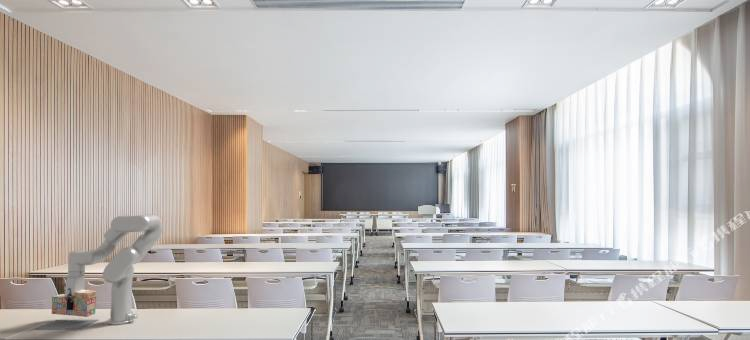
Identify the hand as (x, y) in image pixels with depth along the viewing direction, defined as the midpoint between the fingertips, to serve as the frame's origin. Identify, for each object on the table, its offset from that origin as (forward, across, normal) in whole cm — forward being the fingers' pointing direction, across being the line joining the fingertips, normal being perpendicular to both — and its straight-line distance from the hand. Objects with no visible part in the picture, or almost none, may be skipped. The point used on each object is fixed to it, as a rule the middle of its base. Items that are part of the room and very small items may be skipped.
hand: (74, 307), depth 240 cm
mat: (+7, +6, 0) cm, 9 cm away
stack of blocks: (+4, 0, 0) cm, 4 cm away
